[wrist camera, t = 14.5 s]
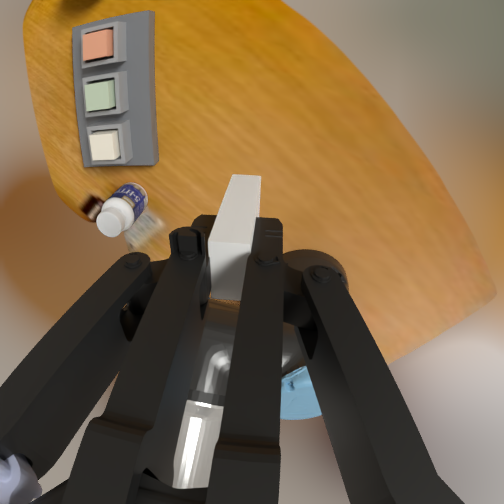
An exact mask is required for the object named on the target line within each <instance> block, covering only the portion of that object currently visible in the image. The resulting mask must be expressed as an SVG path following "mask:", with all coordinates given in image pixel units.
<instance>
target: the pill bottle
mask: <svg viewBox="0 0 504 504" xmlns="http://www.w3.org/2000/svg"><path fill="white" fill-rule="evenodd" d="M147 203H148V197H147V193H146V191H145V190H144V189H143V188H142V187H141V186H140V185H138V184H136V183H131V182H130V183H126V184H124V185H122V186H121V187H120V188H119V189H118V190H117V191H116V192H115V193H114V194H113V195H112V196H111V197H110V198H109V199H108V200H107V201H106V202H105V203H104V204H103V206H102V210H101V213H100V214H99V215H98V217H97V221H96V222H97V226H98V229H99V230H100V231H101V232H102V233H103V234H104V235H106V236H108V237H116V236H118V235H119V234H120V233H121V231H125V230H127V229H129V228H130V227H131V226H132V225H133V223H134V222H135V221H136V219H137V218H138V217H139V216H140V214H141V213H142V212H143V210H144V209H145V208H146V206H147Z"/></svg>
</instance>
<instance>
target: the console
mask: <svg viewBox="0 0 504 504" xmlns="http://www.w3.org/2000/svg"><path fill="white" fill-rule="evenodd" d="M154 22H155V12H153V11H150V10H148V11H142V12H136V13H131V14H126V15H121V16H116V17H111V18H107V19H103V20H99V21H95V22H91V23H87V24H83V25H80V26H76V27H73V28H72V37H73V71H74V87H75V100H76V110H77V120H78V128H79V136H80V143H81V150H82V157H83V163H84V167H96V166H129V165H155V164H156V163H157V162H158V161H159V153H158V139H157V122H156V101H155V68H154ZM106 29H107V30H113V39H114V56H109V57H104V58H99V59H93V60H85V61H83V35H85V34H89V33H93V32H98V31H102V30H106ZM114 79H115V96H116V106H114V107H112V108H109V109H100V110H93V111H86V100H85V86H84V85H88V84H91V83H95V82H101V81H108V80H114ZM116 128H118V133H119V143H120V152H121V155H120V156H119V157H118V158H116V159H114V160H93V159H92V152H91V145H90V138H89V135H91V134H93V133H95V132H97V131H99V130H104V129H116Z"/></svg>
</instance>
